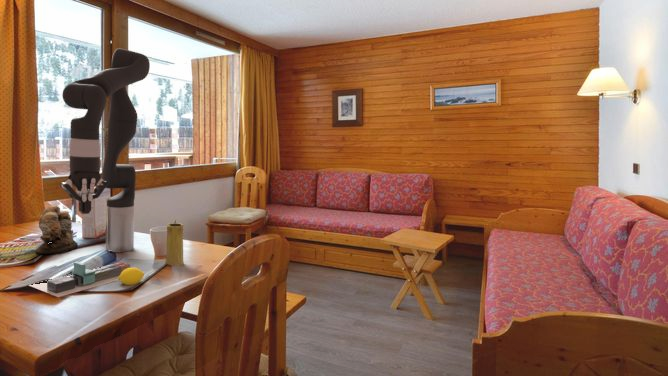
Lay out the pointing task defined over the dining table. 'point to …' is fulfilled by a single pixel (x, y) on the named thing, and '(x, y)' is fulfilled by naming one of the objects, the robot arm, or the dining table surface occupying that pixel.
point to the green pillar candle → (174, 244)
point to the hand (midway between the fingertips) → (85, 213)
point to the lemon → (131, 276)
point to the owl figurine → (56, 231)
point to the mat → (77, 288)
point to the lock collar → (84, 273)
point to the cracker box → (96, 217)
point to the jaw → (100, 268)
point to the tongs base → (69, 283)
